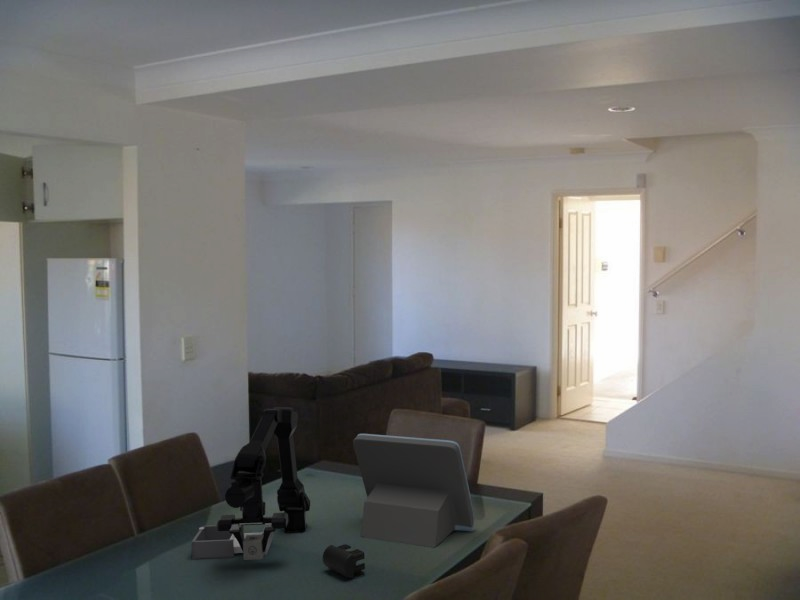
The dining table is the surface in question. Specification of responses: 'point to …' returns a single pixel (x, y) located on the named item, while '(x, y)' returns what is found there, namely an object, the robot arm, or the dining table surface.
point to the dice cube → (253, 547)
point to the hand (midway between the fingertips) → (254, 552)
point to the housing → (212, 544)
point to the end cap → (344, 560)
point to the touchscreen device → (413, 489)
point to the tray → (236, 545)
